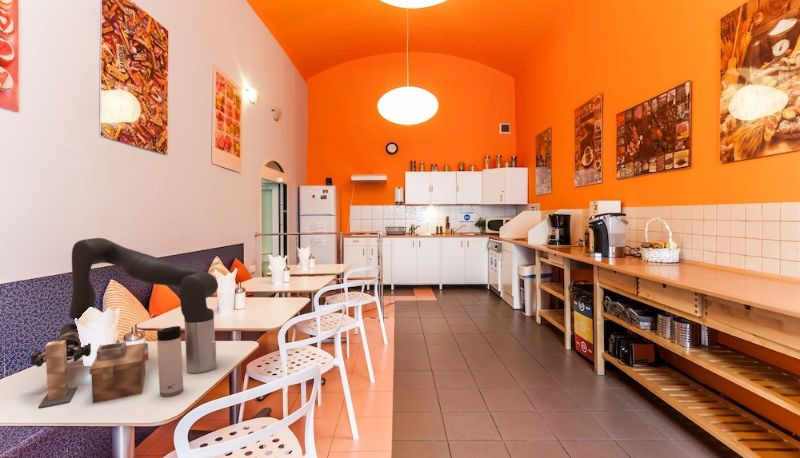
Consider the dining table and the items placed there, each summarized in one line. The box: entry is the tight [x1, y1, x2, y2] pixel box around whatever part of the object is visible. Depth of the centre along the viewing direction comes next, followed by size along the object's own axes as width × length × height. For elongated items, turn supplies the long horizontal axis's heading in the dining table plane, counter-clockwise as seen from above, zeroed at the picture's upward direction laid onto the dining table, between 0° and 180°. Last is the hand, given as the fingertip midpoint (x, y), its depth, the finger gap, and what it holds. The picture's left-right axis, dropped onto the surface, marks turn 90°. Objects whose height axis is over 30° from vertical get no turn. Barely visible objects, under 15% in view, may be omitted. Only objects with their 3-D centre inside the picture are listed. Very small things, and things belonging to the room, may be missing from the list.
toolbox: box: [89, 341, 146, 404], centre depth 131 cm, size 13×21×13 cm, turn 29°
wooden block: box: [44, 340, 70, 400], centre depth 123 cm, size 4×4×16 cm
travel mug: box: [156, 325, 184, 398], centre depth 125 cm, size 6×7×20 cm
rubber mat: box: [37, 386, 79, 409], centre depth 124 cm, size 7×12×1 cm, turn 29°
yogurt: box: [144, 342, 149, 361], centre depth 150 cm, size 12×2×6 cm, turn 2°
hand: (57, 360), depth 124 cm, fingers open, 8 cm apart
